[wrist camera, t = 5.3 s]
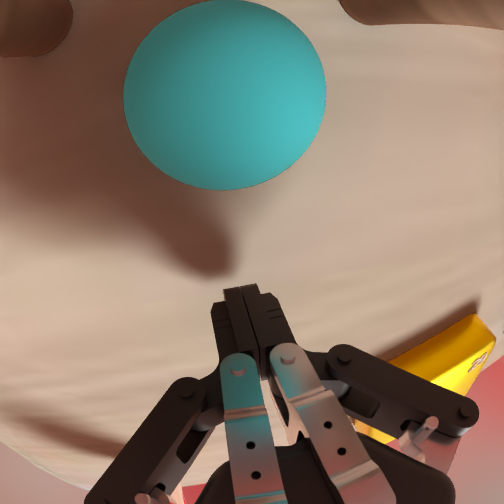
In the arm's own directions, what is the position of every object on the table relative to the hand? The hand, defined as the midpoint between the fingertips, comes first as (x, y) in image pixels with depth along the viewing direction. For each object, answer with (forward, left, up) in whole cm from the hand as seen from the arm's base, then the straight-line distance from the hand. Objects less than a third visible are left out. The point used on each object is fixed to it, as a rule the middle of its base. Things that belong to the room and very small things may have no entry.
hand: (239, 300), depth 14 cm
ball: (+9, 0, +1) cm, 9 cm away
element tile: (-19, -18, -2) cm, 26 cm away
